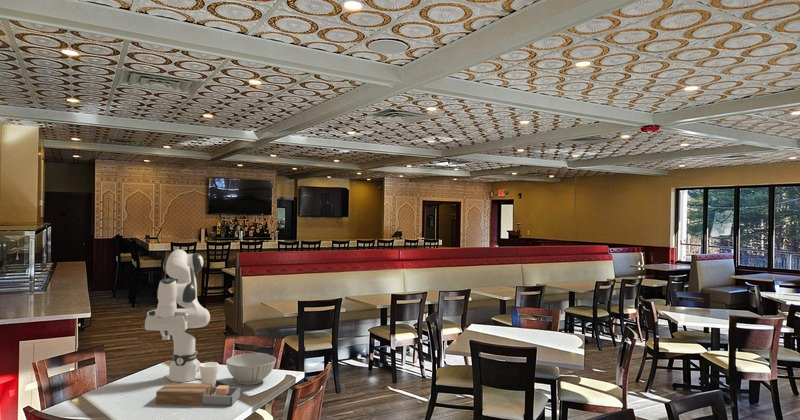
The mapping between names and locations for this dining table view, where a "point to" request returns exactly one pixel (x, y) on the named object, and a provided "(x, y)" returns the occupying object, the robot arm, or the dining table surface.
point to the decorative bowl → (250, 367)
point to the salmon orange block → (222, 390)
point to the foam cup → (209, 373)
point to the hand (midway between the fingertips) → (165, 339)
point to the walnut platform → (183, 393)
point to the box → (222, 397)
